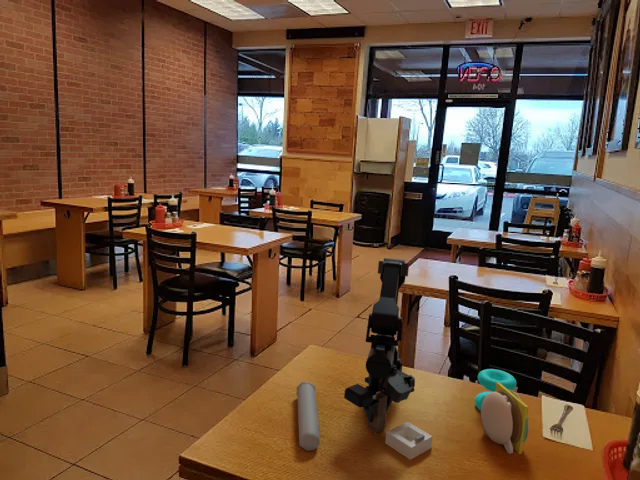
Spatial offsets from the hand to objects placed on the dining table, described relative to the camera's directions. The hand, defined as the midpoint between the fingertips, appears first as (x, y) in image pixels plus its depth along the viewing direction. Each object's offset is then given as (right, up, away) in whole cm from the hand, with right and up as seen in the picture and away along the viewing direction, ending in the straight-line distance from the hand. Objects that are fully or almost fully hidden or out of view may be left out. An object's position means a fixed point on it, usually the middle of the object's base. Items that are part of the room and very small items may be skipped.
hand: (376, 419), depth 119 cm
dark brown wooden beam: (0, -3, 0) cm, 2 cm away
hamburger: (+30, -5, -1) cm, 31 cm away
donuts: (+34, -2, +13) cm, 36 cm away
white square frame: (+7, -4, -6) cm, 10 cm away
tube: (-17, -2, +1) cm, 18 cm away
